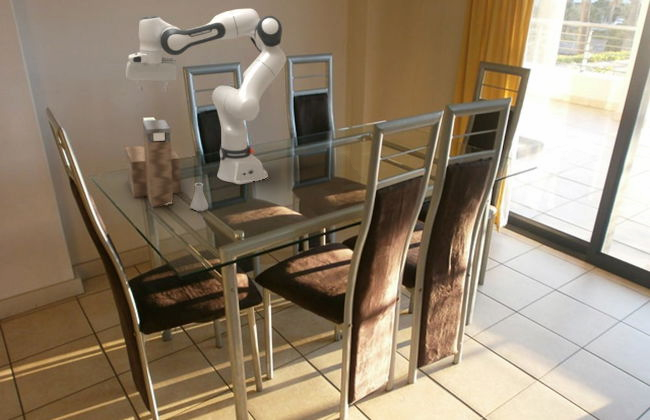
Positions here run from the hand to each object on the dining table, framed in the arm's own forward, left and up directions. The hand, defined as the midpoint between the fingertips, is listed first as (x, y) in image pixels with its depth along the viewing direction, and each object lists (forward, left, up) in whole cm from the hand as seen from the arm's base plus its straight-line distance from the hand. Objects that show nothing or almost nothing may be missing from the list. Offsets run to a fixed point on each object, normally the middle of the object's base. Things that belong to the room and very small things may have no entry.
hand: (152, 91), depth 218 cm
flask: (-8, +46, -34) cm, 58 cm away
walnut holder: (+5, +28, -34) cm, 44 cm away
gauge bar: (+5, +30, -8) cm, 32 cm away
